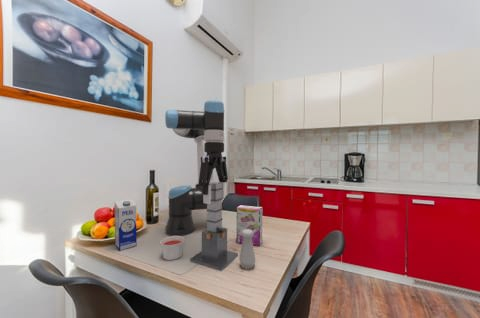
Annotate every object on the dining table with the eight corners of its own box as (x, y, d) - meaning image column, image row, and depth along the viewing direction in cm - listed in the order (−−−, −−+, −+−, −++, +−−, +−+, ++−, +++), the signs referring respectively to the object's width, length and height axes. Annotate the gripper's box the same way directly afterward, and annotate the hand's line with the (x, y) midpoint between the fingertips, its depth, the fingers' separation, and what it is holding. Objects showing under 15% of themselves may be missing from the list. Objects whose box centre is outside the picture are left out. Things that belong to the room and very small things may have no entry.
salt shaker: (238, 262, 76) (238, 227, 75) (254, 261, 76) (254, 227, 76) (240, 271, 70) (240, 233, 70) (256, 270, 70) (256, 233, 70)
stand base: (190, 261, 76) (189, 229, 76) (209, 248, 87) (209, 220, 87) (221, 271, 70) (221, 235, 70) (237, 255, 80) (237, 225, 80)
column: (206, 240, 77) (206, 183, 77) (213, 236, 81) (213, 181, 81) (216, 243, 75) (215, 184, 75) (222, 238, 79) (222, 182, 79)
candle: (165, 250, 85) (165, 235, 85) (187, 250, 85) (187, 235, 85) (156, 261, 76) (156, 245, 76) (180, 262, 76) (180, 245, 76)
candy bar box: (236, 243, 92) (235, 207, 92) (239, 239, 97) (239, 204, 96) (260, 246, 88) (260, 209, 88) (262, 242, 93) (262, 206, 93)
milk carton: (132, 241, 94) (131, 198, 94) (137, 245, 89) (136, 200, 89) (114, 246, 89) (114, 200, 89) (118, 251, 84) (118, 203, 84)
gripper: (204, 139, 66) (205, 208, 67) (236, 143, 85) (236, 196, 86) (187, 140, 70) (187, 205, 70) (221, 143, 89) (221, 195, 89)
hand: (214, 200), depth 78 cm, fingers open, 9 cm apart
